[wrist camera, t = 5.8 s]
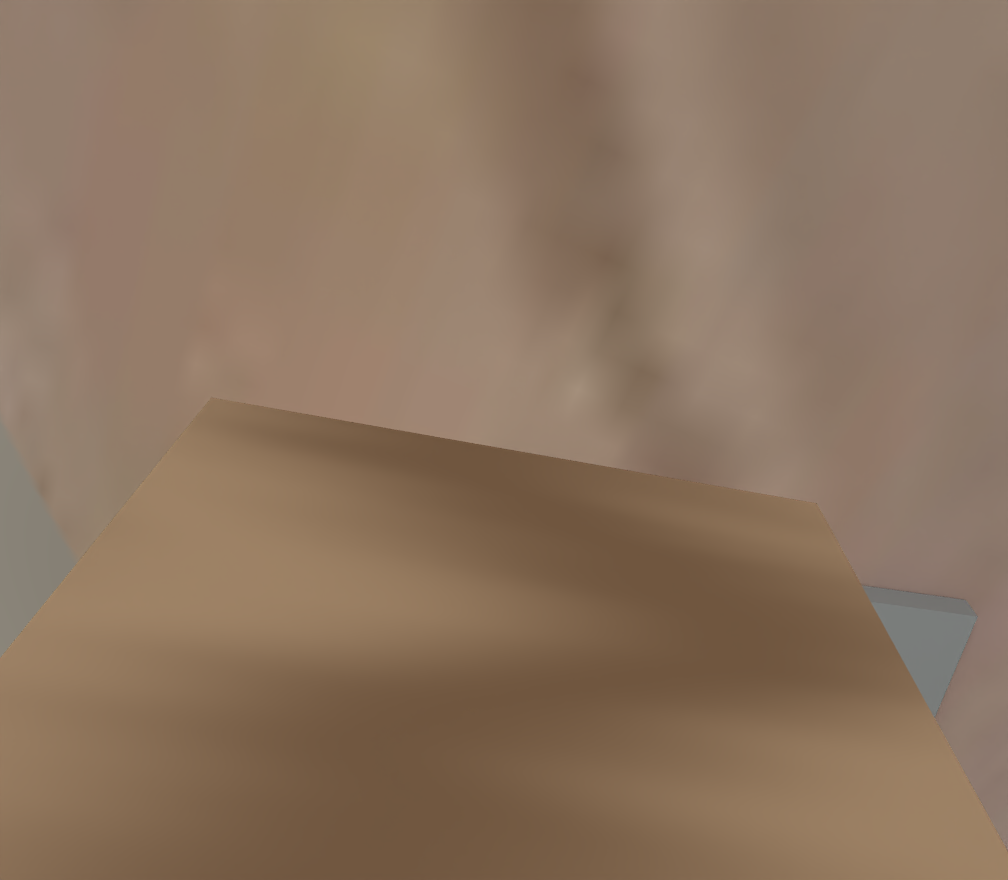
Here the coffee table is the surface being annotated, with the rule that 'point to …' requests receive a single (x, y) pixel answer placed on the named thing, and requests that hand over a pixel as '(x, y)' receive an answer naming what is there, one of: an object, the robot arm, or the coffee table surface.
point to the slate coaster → (925, 635)
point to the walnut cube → (464, 679)
